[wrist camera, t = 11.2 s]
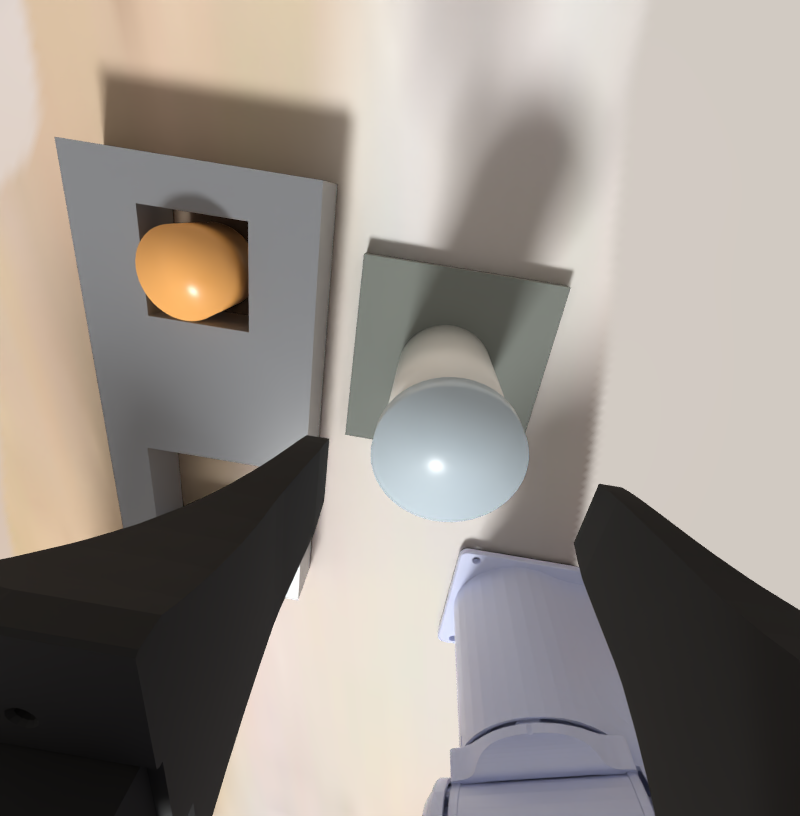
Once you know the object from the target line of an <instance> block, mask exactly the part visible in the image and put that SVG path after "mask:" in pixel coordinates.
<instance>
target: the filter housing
mask: <svg viewBox="0 0 800 816" xmlns="http://www.w3.org/2000/svg"><path fill="white" fill-rule="evenodd" d="M55 142H56V148H57V154H58V159H59V165H60V171H61V177H62V182H63V188H64V194H65V199H66V205H67V211H68V216H69V222H70V228H71V233H72V239H73V245H74V250H75V256H76V262H77V268H78V273H79V279H80V285H81V290H82V296H83V302H84V307H85V313H86V319H87V324H88V330H89V336H90V341H91V347H92V353H93V359H94V364H95V370H96V376H97V381H98V387H99V393H100V398H101V404H102V410H103V415H104V421H105V427H106V432H107V438H108V444H109V450H110V455H111V461H112V467H113V472H114V478H115V484H116V489H117V495H118V501H119V506H120V512H121V518H122V523H123V528H126V527H130V526H133V525H136V524H139V523H142V522H144V521H147V520H149V519H152V518H155V517H157V516H160V515H163V514H165V513H168V512H171V511H173V510H176V509H178V508H181V507H183V500H182V490H181V479H180V469H179V458H178V453H182V454H188V455H194V456H200V457H206V458H212V459H218V460H224V461H230V462H236V463H242V464H248V465H254V466H261V465H263V464H265V463H266V462H268V461H269V460H271V459H272V458H274V457H275V456H277V455H278V454H280V453H281V452H282V451H284V450H285V449H287V448H288V447H290V446H291V445H293V444H294V443H295V442H297V441H298V440H300V439H301V438H303V437H304V436H306V435H309V436H315V437H319V431H320V417H321V403H322V389H323V376H324V362H325V348H326V334H327V321H328V307H329V293H330V280H331V266H332V252H333V238H334V225H335V211H336V197H337V184H334V183H331V182H327V181H323V180H317V179H311V178H305V177H299V176H293V175H287V174H280V173H274V172H268V171H262V170H256V169H250V168H243V167H237V166H231V165H225V164H219V163H213V162H206V161H200V160H194V159H188V158H182V157H176V156H169V155H163V154H157V153H151V152H145V151H139V150H132V149H126V148H120V147H114V146H108V145H102V144H95V143H89V142H83V141H77V140H71V139H65V138H58V137H55ZM173 209H175V210H181V211H187V212H193V213H200V214H206V215H212V216H218V217H224V218H230V219H236V220H243V221H248V272H249V315H243V314H236V313H230V312H224V311H221V312H219V313H217V314H215V315H213V316H210V317H208V318H206V319H203V320H199V321H185V320H181V319H177V318H174V317H172V316H170V315H168V314H166V313H165V312H163V311H162V310H161V309H159V308H158V307H157V306H156V305H155V304H154V303H153V302H152V301H151V300H150V299H149V298H148V296H147V295H146V293H145V292H144V290H143V288H142V286H141V284H140V282H139V279H138V276H137V272H136V264H135V258H136V251H137V247H138V245H139V242H140V241H141V239H142V238H143V236H144V235H145V234H146V233H147V232H148V231H149V230H151V229H152V228H154V227H156V226H159V225H163V224H174V221H173ZM311 540H312V539H311ZM310 554H311V541H310V543H309V546H308V548H307V550H306V552H305V555H304V557H303V559H302V561H301V563H300V566H299V568H298V570H297V572H296V574H295V577H294V579H293V581H292V583H291V585H290V588H289V590H288V592H287V594H286V596H285V598H287V599H293V600H298V599H299V596H300V593H301V591H302V588H303V585H304V582H305V579H306V576H307V574H308V571H309V568H310Z"/></svg>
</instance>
